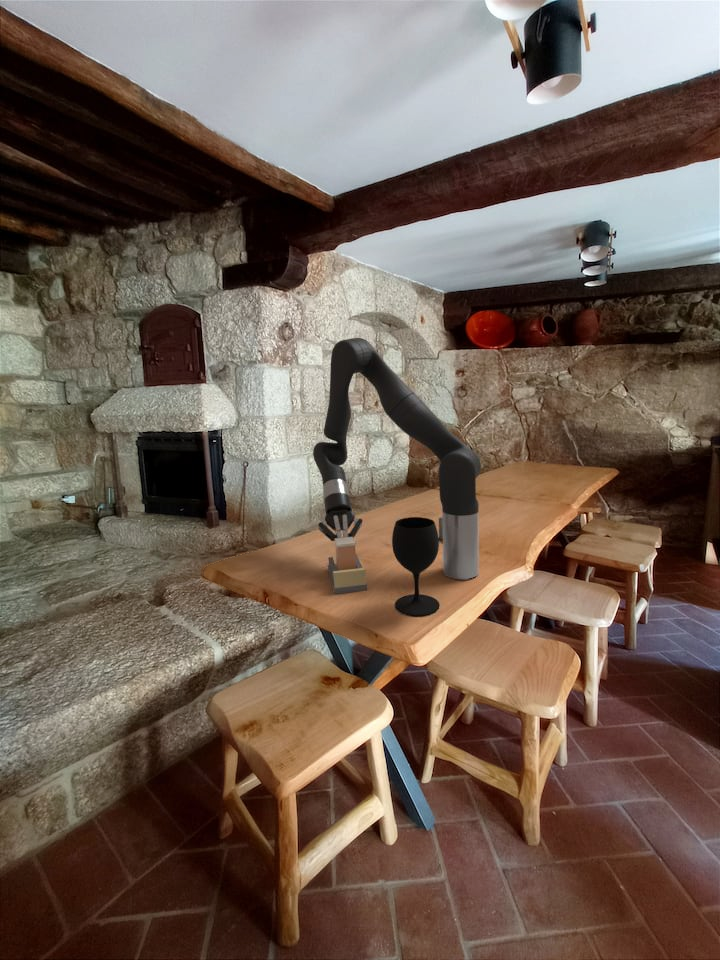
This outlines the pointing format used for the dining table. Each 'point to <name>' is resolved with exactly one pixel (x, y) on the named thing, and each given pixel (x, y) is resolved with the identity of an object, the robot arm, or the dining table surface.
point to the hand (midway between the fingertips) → (344, 552)
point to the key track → (347, 578)
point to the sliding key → (345, 553)
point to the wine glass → (416, 560)
